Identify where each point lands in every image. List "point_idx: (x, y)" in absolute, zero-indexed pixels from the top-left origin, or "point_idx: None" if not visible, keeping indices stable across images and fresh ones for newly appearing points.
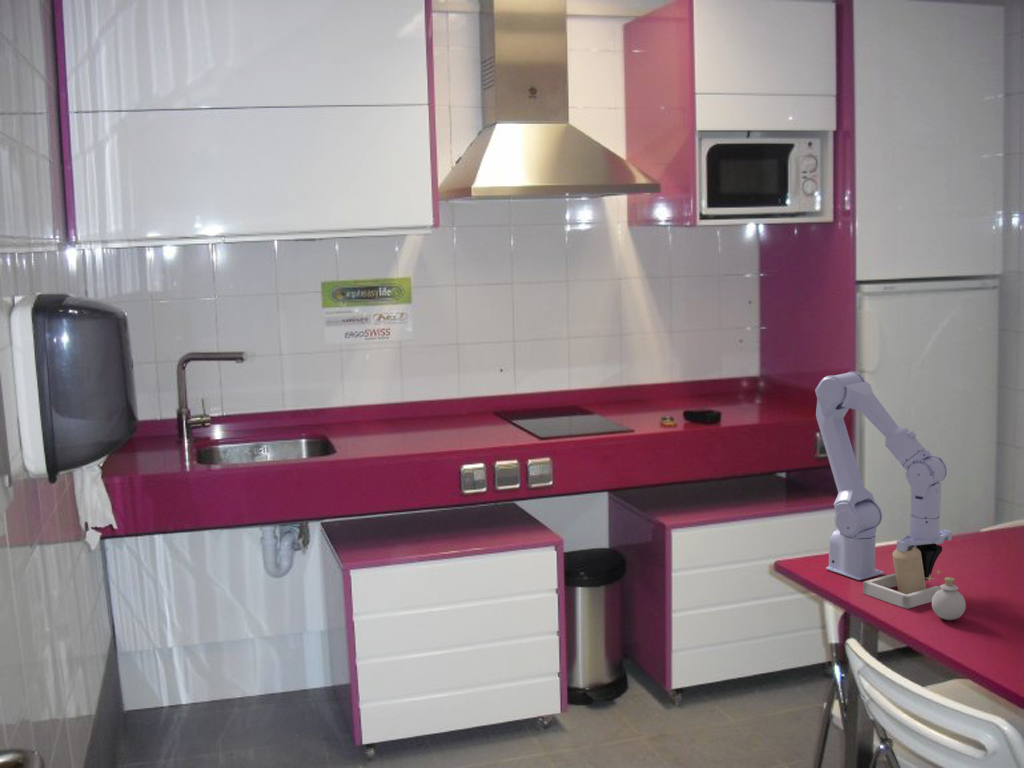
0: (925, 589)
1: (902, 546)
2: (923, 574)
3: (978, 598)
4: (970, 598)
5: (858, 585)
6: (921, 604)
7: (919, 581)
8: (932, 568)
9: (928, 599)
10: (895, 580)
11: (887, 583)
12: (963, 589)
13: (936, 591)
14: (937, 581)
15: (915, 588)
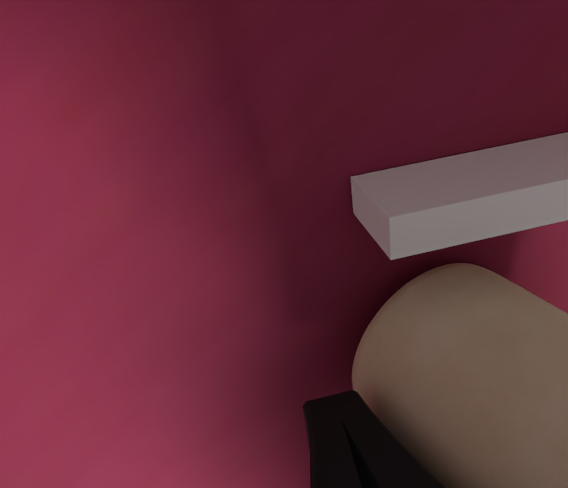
0: (544, 218)
1: None
2: (516, 380)
3: (8, 49)
4: (91, 84)
5: None
6: (561, 134)
7: (545, 320)
8: (320, 479)
9: (502, 156)
10: None
11: None
12: (3, 289)
13: (432, 193)
14: (94, 459)
15: (529, 292)
